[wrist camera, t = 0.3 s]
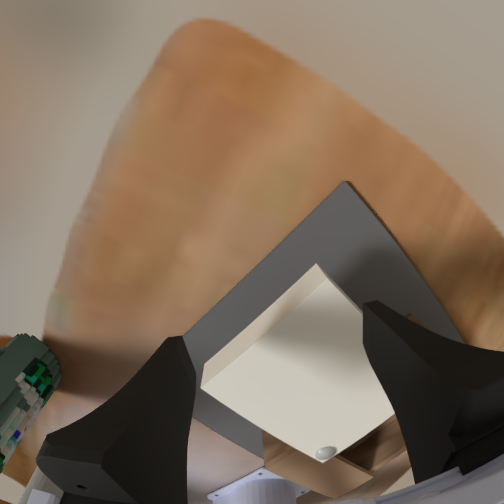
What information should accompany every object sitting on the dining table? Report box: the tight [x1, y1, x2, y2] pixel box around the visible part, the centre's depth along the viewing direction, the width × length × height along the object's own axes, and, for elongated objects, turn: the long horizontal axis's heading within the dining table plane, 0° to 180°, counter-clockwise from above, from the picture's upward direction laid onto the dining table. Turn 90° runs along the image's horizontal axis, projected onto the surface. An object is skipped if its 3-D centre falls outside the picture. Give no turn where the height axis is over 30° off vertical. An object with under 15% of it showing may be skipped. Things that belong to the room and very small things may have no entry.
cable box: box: [262, 313, 425, 499], centre depth 23 cm, size 16×10×5 cm, turn 135°
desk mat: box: [182, 181, 465, 459], centre depth 25 cm, size 22×22×1 cm
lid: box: [200, 263, 395, 463], centre depth 18 cm, size 11×9×3 cm
